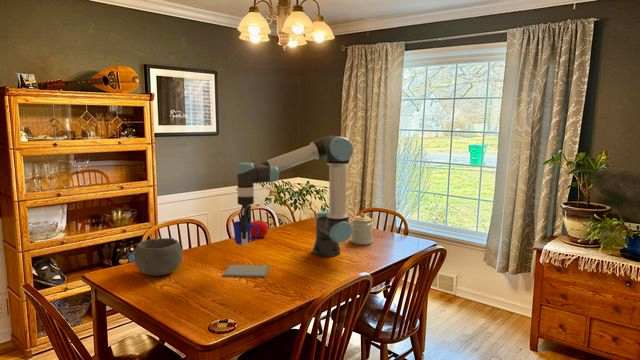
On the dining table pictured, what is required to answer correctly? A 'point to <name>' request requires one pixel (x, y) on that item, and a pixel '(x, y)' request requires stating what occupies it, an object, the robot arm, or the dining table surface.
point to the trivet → (246, 271)
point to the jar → (362, 230)
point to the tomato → (259, 228)
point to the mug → (238, 234)
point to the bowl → (158, 256)
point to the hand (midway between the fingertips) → (246, 242)
